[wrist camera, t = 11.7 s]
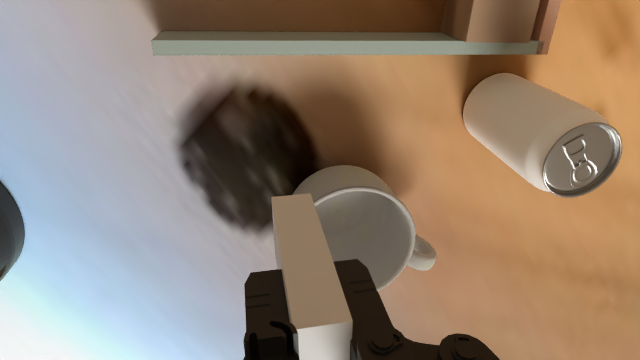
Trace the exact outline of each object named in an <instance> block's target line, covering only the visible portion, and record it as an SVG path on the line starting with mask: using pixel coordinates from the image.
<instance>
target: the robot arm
mask: <svg viewBox="0 0 640 360" xmlns="http://www.w3.org/2000/svg"><path fill="white" fill-rule="evenodd" d="M271 198H272V212H273V227H274V241H275V255H276V262H277V270H269V271H261V272H253V273H250V275H249V277H248V279H247V281H246V283H245V307H246V333H245V337H244V349H245V357H244V360H500V359H499V358H498V357H497V356H496V355H495V354H494V353H493V352H492V351H491V350H490V349H489V348H488V347H487V346H486V345H485V344H484V343H482V342H481V341H480V340H478V339H477V338H474V337H472V336H470V335H466V334H458V333H457V334H452V335H448V336H447V337H445V338H444V339H442V341H441V343H440V345H431V344H423V343H418V342H414V341H411V340H409V339H406V338H405V337H404V336H403V334H402V333H401V332H399V331H398V330H397V329H395V328H394V327H393V325H392V323H391V321H390V319H389V316H388V314H387V312H386V309H385V307H384V305H383V302H382V300H381V298H380V296H379V293H378V291H377V290H376V286H375V284H374V282H373V280H372V277H371V275H370V272H369V270H368V268H367V267H366V266H365V265H364V264H363V263H361V262H360V261H359V260H358V259H351V260H343V261H335V262H333V260H332V257H331V254H330V251H329V248H328V245H327V241H326V238H325V235H324V232H323V229H322V226H321V223H320V220H319V217H318V214H317V211H316V208H315V205H314V202H313V199H312V196H311V193H308V194H298V195H288V196H277V197H271ZM24 238H25V231H24V224H23V220H22V216H21V214H20V211H19V209H18V207H17V205H16V203H15V202H14V200H13V198H12V197H11V196H10V194H9V193H8V192H7V190H6V189H5V188H4V187H3V186H2V185H1V184H0V281H1V280H2V279H3V278H4V276H5V275H6V274H7V273H8V271H9V270H10V269H11V267H12V266H13V265H14V263H15V262H16V261H17V259H18V258H19V256H20V254H21V251H22V248H23V245H24Z"/></svg>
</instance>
